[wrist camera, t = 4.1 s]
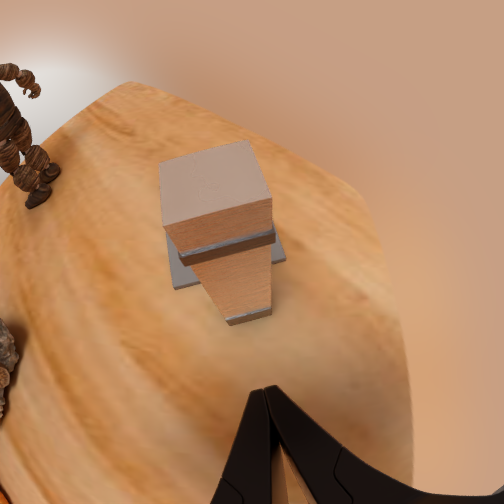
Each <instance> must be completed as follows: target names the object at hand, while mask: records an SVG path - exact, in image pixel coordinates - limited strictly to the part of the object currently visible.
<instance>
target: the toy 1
mask: <svg viewBox="0 0 504 504" xmlns="http://www.w3.org/2000/svg"><path fill="white" fill-rule="evenodd" d="M0 504H9V503H8V501H7V500H6V498H5V497H4V495H3V494H2V493H1V492H0Z"/></svg>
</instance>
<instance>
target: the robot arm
mask: <svg viewBox="0 0 504 504" xmlns="http://www.w3.org/2000/svg"><path fill="white" fill-rule="evenodd" d="M280 445H281V446H280ZM281 447H282V450H283V452H284V454H285V456H286V458H287V460H288V462H289V465H290V467H291V469H292V471H293V473H294V475H295V477H296V479H297V481H298V483H299V485H300V487H301V489H302V491H303V493H304V495H305V497H306V499H307V501H308V503H309V504H504V485H503V486H502V487H501V488H499V489H498V490H497V491H496V492H494V493H493V494H492V495H487V496H456V495H442V494H432V493H427V492H423V491H420V490H417V489H414V488H412V487H410V486H408V485H406V484H403V483H401V482H399V481H397V480H395V479H393V478H392V477H390V476H388V475H386V474H384V473H382V472H380V471H378V470H377V469H375V468H373V467H372V466H370V465H368V464H367V463H365V462H364V461H362V460H361V459H360V458H358V457H357V456H356V455H354V454H353V453H352V452H350V451H349V450H348V449H347V448H346V447H344V446H343V445H342V444H341V443H339V442H338V441H337V440H336V439H335V438H334V437H332V436H331V435H330V434H329V433H328V432H327V431H326V430H324V429H323V428H322V427H321V426H320V425H319V424H318V423H317V422H315V421H314V420H313V419H312V418H311V417H310V416H309V415H308V414H307V413H306V412H304V411H303V410H302V409H301V408H300V407H299V406H298V405H297V404H296V403H295V402H294V401H293V400H292V399H291V398H290V397H289V396H287V395H286V394H285V393H284V392H283V391H282V390H281V389H280V388H279V387H278V386H277V385H272V386H268V387H265V388H264V390H263V389H262V388H261V389H257V390H253V391H251V392H250V394H249V397H248V400H247V403H246V406H245V409H244V412H243V415H242V418H241V421H240V424H239V427H238V430H237V433H236V436H235V439H234V442H233V445H232V448H231V451H230V453H229V456H228V459H227V462H226V465H225V468H224V470H223V473H222V478H220V481H219V484H218V486H217V489H216V491H215V494H214V496H213V498H212V501H211V503H210V504H289V503H288V496H287V488H286V481H285V474H284V467H283V459H282V452H281Z"/></svg>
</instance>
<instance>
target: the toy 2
mask: <svg viewBox="0 0 504 504" xmlns="http://www.w3.org/2000/svg"><path fill="white" fill-rule="evenodd" d="M15 78H16V79H15ZM13 79H15V81H16V83H17V84H18V85H19V87H22V88H24V90H23V94H24V95H25V94H26V90H27V89H30V90H31V94H30V95H29V96H28V97H29V98H30V97H31V98H32V99H33V98H37V97H38V96H39V95H40V92H41V88H40V86H39V84H37V83H34V82H35V76H34V75H33V73H32V72H31V71H29V70H21V71H19V68H18V66H16V65H14V64H12V63H8V64H1V65H0V80H4V81H11V80H13ZM33 94H34V95H33ZM9 139H11V140H9ZM31 144H32V136H31V129H30V127H29V124H28V122H27V121H26V120H25V119H24V118H23V117H21V113H20V111H19V109H18V108H17V106H15V105H14V102H13V100H12V98H11V96H10V94H9V93H8V91H7V90H6V89H5V88H4V86H3V85H2V84H1V83H0V167H1V168H2V169H3V170H4V171H5V172H7V173H10V175H11V176H13V181H14V184H15V185H16V186H17V187H19V188H20V189H21V190H23V191H25V192H30V194H29V195H28V199H27V201H26V202H25V206H26V207H27V208H28V209H30V208H32V207H34V206H36V205H38V204H40V203H42V202H43V201H45V200H46V198H47V197H48V196H49V194H50V192H51V188H50V187H49V185H47V184H45V183H47V182H49V181H51V180H53V179H54V178H55V177H56V176H57V175H58V174H59V171H60V167H59V166H58V165H57V164H56V163H49V161H50V158H49V156H48V154H47V152H46V151H45V150H44V149H42V148H41V147H40V146H39V145H33V146H31ZM19 151H21V153H22V154H23V156H24V155H25V162H26V165H21V166H19V164H20V156H19ZM29 166H30V167H29ZM35 170H37V171H40V173H39V174H38V175H37V173H36V171H35Z"/></svg>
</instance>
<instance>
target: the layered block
mask: <svg viewBox="0 0 504 504" xmlns="http://www.w3.org/2000/svg"><path fill="white" fill-rule="evenodd" d="M159 180H160V197H161V210H162V222H163V227H164V229H165V231H166V232H167V234H168V235H169V237H170V239H171V240H172V242H173V243H174V245H175V247H176V248H177V250H178V256H179V259H180V261H181V262H182V264H183V265H184V267H187V266H190V267H191V268H192V270H193V271H194V273H195V275H196V276H197V278H198V279H199V281H200V282H201V284H202V285H203V287H204V288H205V290H206V291H207V293H208V294H209V296H210V297H211V299H212V300H213V302H214V303H215V305H216V306H217V308H218V309H219V311H220V312H221V314H222V315H223V316H224V318H225V319H226V322H227V323H228V324H229V326H232V325H236V324H240V323H243V322H247V321H251V320H255V319H258V318H262V317H266V316H269V315H272V308H271V244H274V243H276V232H275V229H274V226H273V224H272V196H271V193H270V191H269V188H268V186H267V183H266V181H265V178H264V176H263V174H262V171H261V169H260V166H259V164H258V162H257V159H256V157H255V154H254V152H253V150H252V147H251V145H250V143H249V140H244V141H239V142H235V143H230V144H226V145H222V146H218V147H214V148H210V149H206V150H202V151H199V152H195V153H191V154H188V155H184V156H181V157H177V158H174V159H171V160H168V161H164V162H161V163H159Z"/></svg>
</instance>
